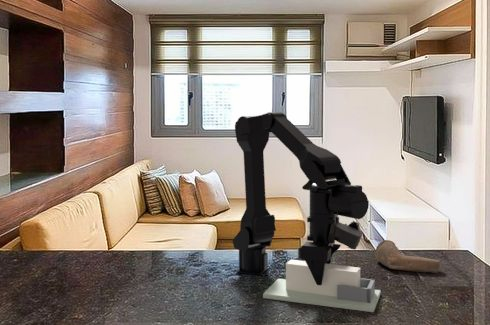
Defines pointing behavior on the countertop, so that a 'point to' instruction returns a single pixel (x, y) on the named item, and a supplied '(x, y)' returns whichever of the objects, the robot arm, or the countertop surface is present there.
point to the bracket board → (346, 296)
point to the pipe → (404, 259)
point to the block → (333, 276)
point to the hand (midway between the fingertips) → (322, 280)
